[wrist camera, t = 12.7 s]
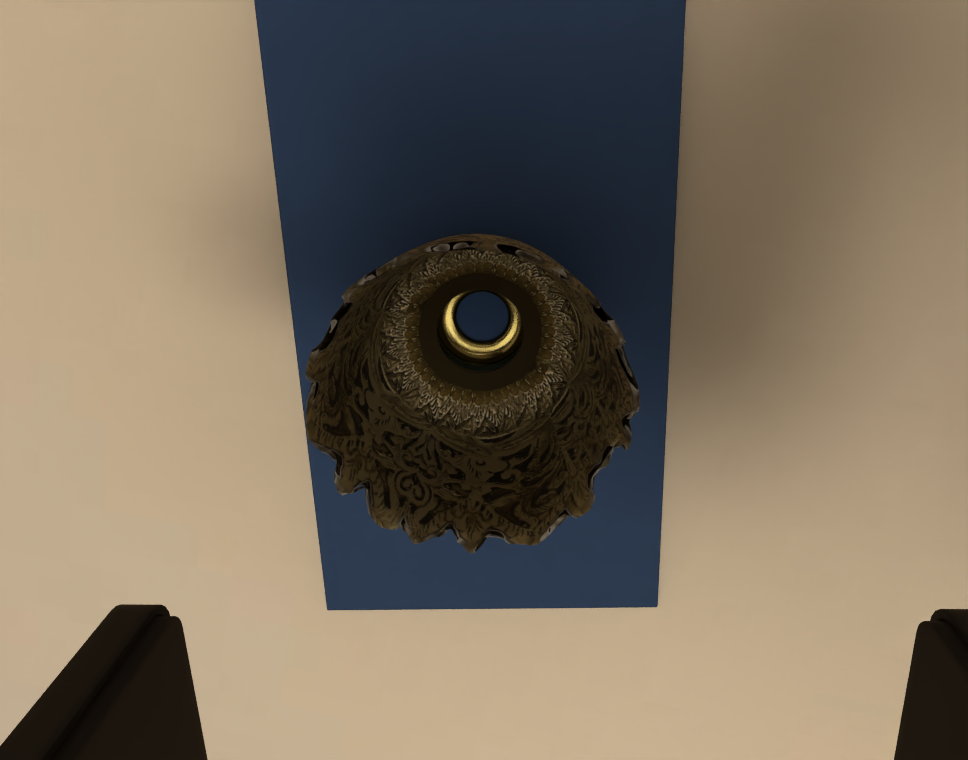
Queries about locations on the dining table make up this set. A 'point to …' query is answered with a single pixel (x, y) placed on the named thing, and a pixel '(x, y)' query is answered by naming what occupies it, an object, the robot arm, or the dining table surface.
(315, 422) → the dark brown rounded piece
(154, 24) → the dining table surface
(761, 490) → the dining table surface
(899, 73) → the dining table surface
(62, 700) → the robot arm
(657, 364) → the cloth
